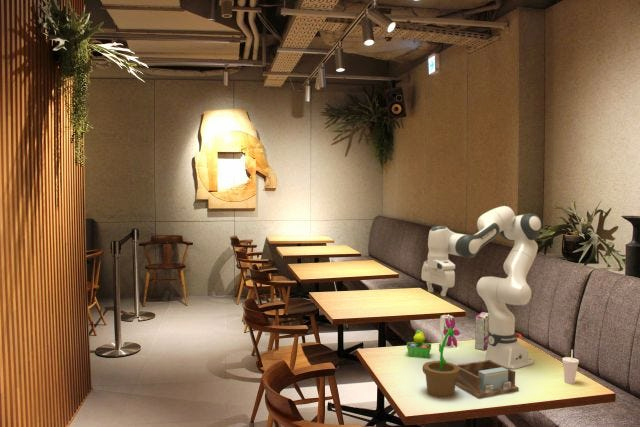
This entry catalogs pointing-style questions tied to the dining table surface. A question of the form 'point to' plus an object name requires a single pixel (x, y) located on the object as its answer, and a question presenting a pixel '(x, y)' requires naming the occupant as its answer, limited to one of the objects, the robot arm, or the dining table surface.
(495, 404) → the dining table surface
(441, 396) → the flowerpot
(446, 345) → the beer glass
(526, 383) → the dining table surface
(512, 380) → the wooden box
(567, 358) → the smoothie
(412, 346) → the fruit basket
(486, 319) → the candy bar box
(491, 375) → the grey box with stripe
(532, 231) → the robot arm
